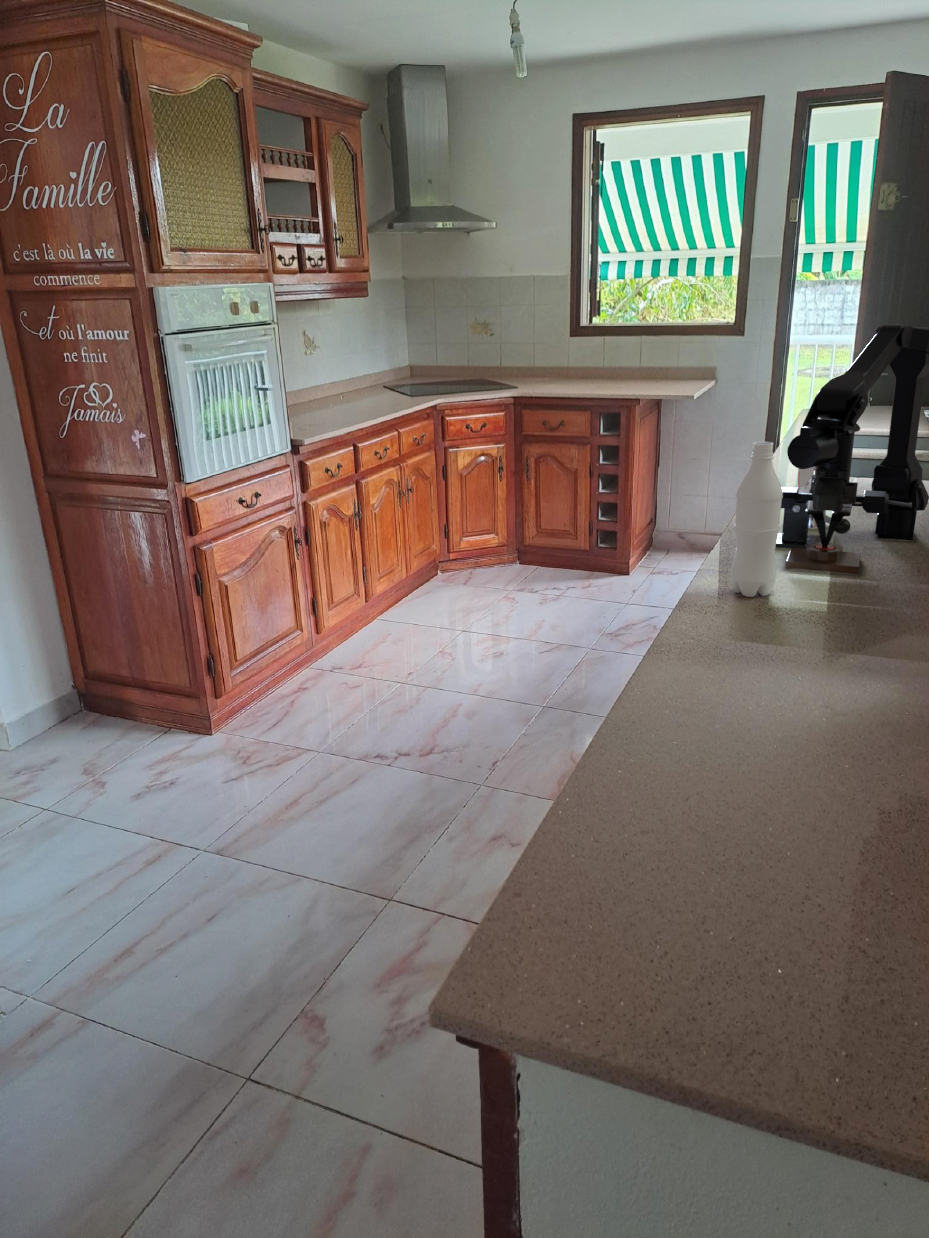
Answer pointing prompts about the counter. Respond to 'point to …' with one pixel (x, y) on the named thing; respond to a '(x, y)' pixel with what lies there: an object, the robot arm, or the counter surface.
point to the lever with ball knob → (840, 525)
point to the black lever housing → (796, 529)
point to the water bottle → (757, 525)
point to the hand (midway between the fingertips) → (824, 546)
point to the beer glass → (807, 487)
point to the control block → (823, 559)
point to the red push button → (824, 547)
